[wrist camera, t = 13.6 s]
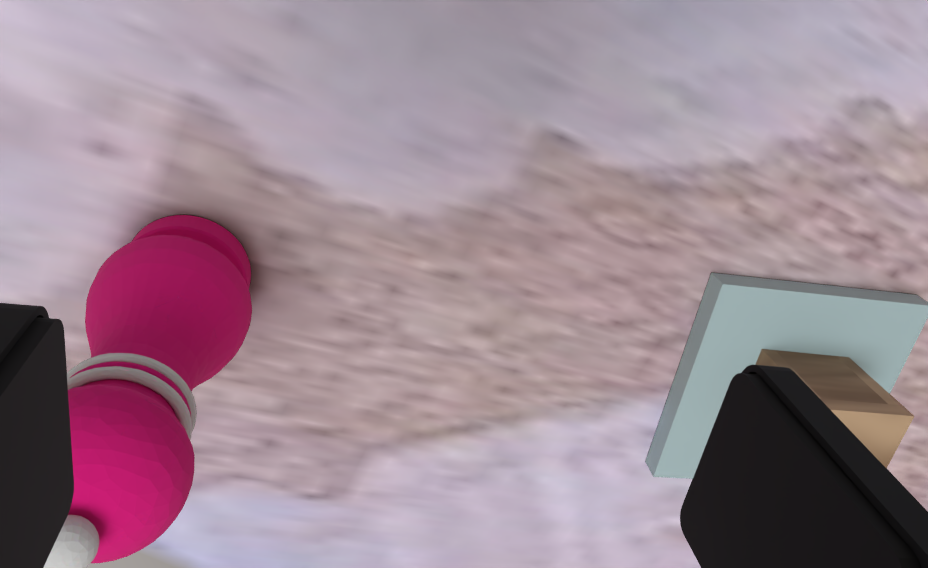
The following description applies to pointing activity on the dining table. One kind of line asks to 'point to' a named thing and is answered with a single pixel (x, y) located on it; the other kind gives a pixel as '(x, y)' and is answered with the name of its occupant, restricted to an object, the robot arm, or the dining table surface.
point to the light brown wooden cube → (849, 398)
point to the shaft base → (774, 348)
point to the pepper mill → (147, 382)
